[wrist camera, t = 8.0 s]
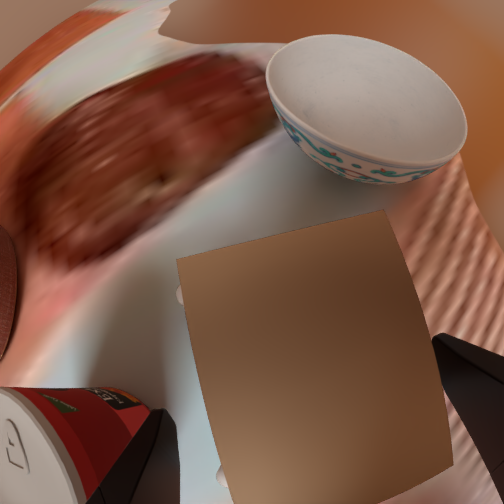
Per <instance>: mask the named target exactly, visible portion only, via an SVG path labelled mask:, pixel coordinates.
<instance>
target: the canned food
mask: <svg viewBox="0 0 504 504" xmlns="http://www.w3.org/2000/svg"><path fill="white" fill-rule="evenodd" d="M150 412H151V411H150V410H149V409H148V408H147V407H146V406H145V405H144V404H143V403H142V402H141V401H140V400H138V399H137V398H135V397H133V396H132V395H130V394H128V393H126V392H124V391H122V390H119V389H115V388H111V387H98V388H23V387H0V504H85V503H86V502H87V500H88V499H89V498H90V496H91V495H92V494H93V492H94V491H95V490H96V488H97V487H98V486H99V484H100V483H101V481H102V480H103V479H104V477H105V476H106V474H107V473H108V472H109V470H110V469H111V467H112V466H113V464H114V463H115V462H116V460H117V459H118V457H119V456H120V455H121V453H122V452H123V450H124V449H125V448H126V446H127V445H128V443H129V442H130V440H131V439H132V438H133V436H134V435H135V433H136V432H137V431H138V429H139V428H140V426H141V425H142V423H143V422H144V421H145V419H146V418H147V416H148V415H149V413H150Z"/></svg>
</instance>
